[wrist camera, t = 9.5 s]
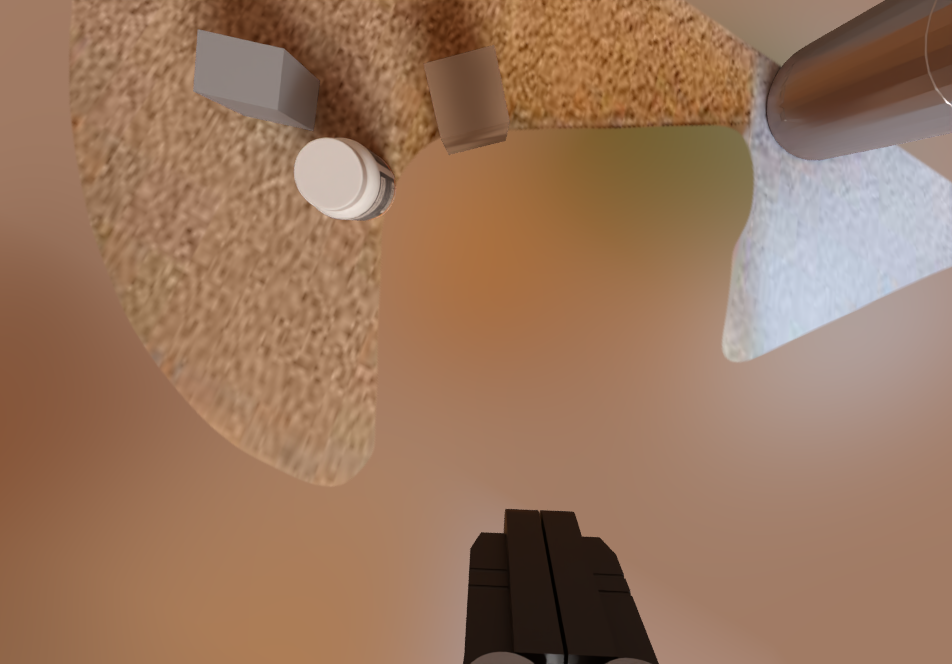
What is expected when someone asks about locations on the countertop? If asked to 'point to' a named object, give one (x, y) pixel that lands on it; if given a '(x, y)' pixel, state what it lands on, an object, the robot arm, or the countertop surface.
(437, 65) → the walnut block
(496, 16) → the countertop surface
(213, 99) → the slate block
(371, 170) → the pill bottle
